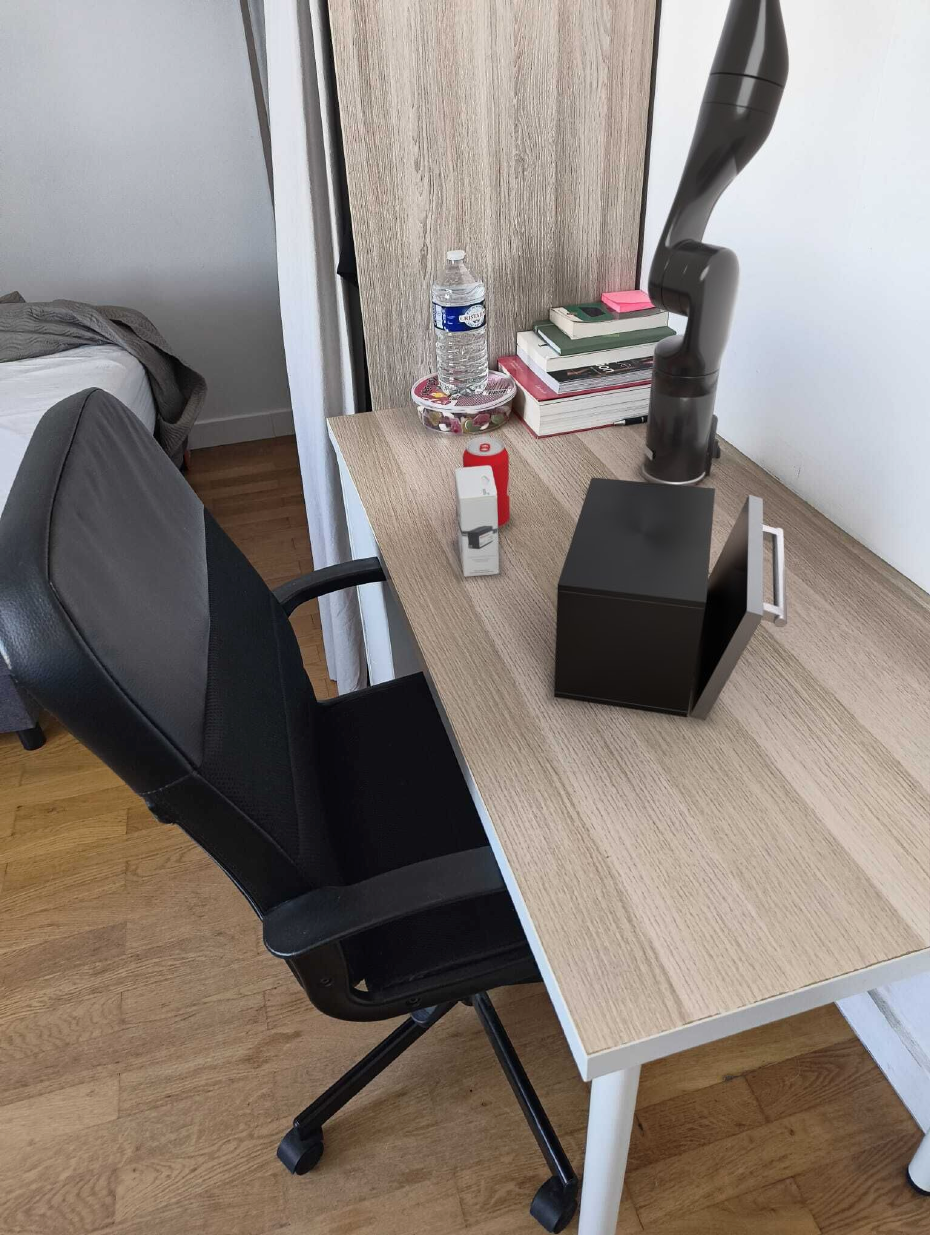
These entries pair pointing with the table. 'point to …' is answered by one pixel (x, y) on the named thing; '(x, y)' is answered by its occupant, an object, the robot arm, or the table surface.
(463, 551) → the ink box
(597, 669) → the oven
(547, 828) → the table surface
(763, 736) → the table surface
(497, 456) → the beverage can
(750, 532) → the oven door
